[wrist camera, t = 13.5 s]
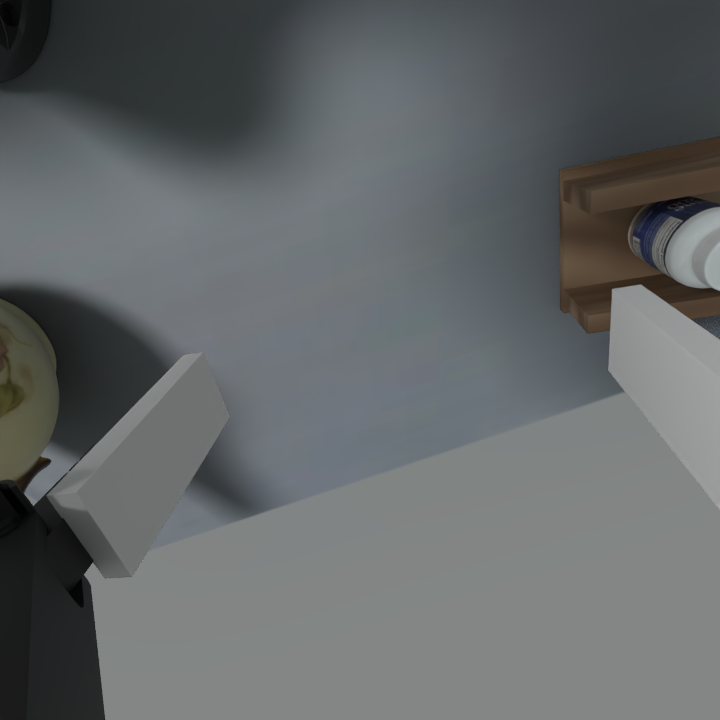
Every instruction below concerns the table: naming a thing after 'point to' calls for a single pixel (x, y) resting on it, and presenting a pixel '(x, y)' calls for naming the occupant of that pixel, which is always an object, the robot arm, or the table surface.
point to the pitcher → (25, 395)
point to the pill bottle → (680, 240)
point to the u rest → (611, 225)
